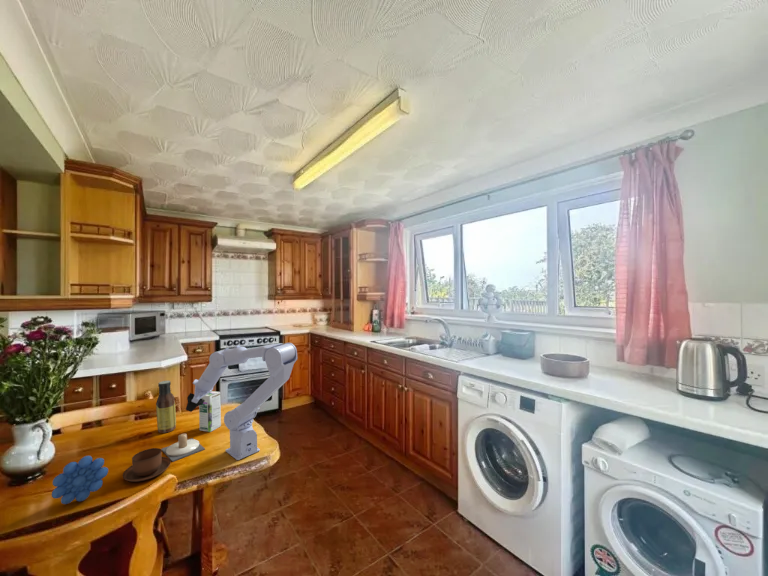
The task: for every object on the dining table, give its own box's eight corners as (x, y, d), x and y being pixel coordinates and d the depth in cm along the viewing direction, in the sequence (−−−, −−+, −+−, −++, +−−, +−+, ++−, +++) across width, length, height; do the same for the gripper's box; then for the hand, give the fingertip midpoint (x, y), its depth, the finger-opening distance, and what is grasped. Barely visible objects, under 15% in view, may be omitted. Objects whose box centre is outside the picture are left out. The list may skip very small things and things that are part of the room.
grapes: (113, 485, 94) (111, 444, 94) (106, 498, 88) (105, 455, 88) (59, 498, 88) (57, 456, 88) (48, 514, 82) (46, 468, 82)
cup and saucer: (120, 474, 100) (119, 454, 99) (166, 458, 108) (165, 440, 108) (125, 491, 91) (125, 470, 91) (174, 473, 100) (174, 453, 99)
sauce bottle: (165, 426, 132) (163, 379, 131) (179, 426, 131) (178, 379, 131) (153, 434, 125) (151, 384, 125) (168, 434, 125) (166, 384, 124)
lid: (203, 447, 114) (203, 434, 114) (171, 459, 106) (170, 445, 106) (193, 438, 120) (192, 426, 120) (162, 449, 113) (161, 436, 113)
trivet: (204, 449, 113) (204, 448, 113) (172, 461, 106) (172, 460, 106) (192, 438, 121) (192, 437, 121) (161, 449, 113) (161, 448, 113)
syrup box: (198, 430, 128) (197, 394, 127) (210, 424, 133) (209, 389, 133) (210, 432, 126) (209, 396, 126) (221, 426, 132) (220, 391, 131)
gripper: (207, 360, 121) (191, 385, 124) (190, 384, 108) (173, 412, 111) (225, 368, 123) (209, 393, 126) (210, 393, 110) (192, 420, 113)
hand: (193, 402), depth 119 cm, fingers open, 7 cm apart
